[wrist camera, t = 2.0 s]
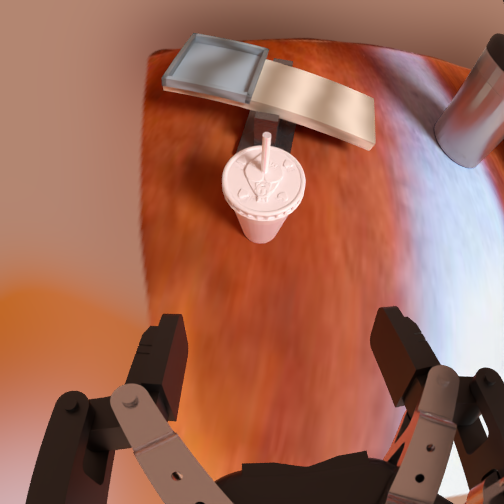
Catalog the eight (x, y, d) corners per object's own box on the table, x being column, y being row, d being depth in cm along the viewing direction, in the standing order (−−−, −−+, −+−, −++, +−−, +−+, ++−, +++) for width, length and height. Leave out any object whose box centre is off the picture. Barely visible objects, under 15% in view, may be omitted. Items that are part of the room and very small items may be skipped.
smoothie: (291, 201, 32) (314, 111, 19) (290, 258, 30) (319, 189, 17) (232, 197, 32) (221, 105, 19) (226, 254, 30) (208, 182, 17)
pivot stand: (302, 90, 38) (308, 58, 32) (287, 167, 34) (293, 134, 28) (260, 83, 38) (262, 51, 32) (236, 157, 34) (233, 123, 28)
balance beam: (368, 102, 34) (377, 89, 31) (369, 155, 31) (380, 143, 28) (190, 48, 31) (191, 32, 29) (160, 94, 28) (159, 77, 26)
